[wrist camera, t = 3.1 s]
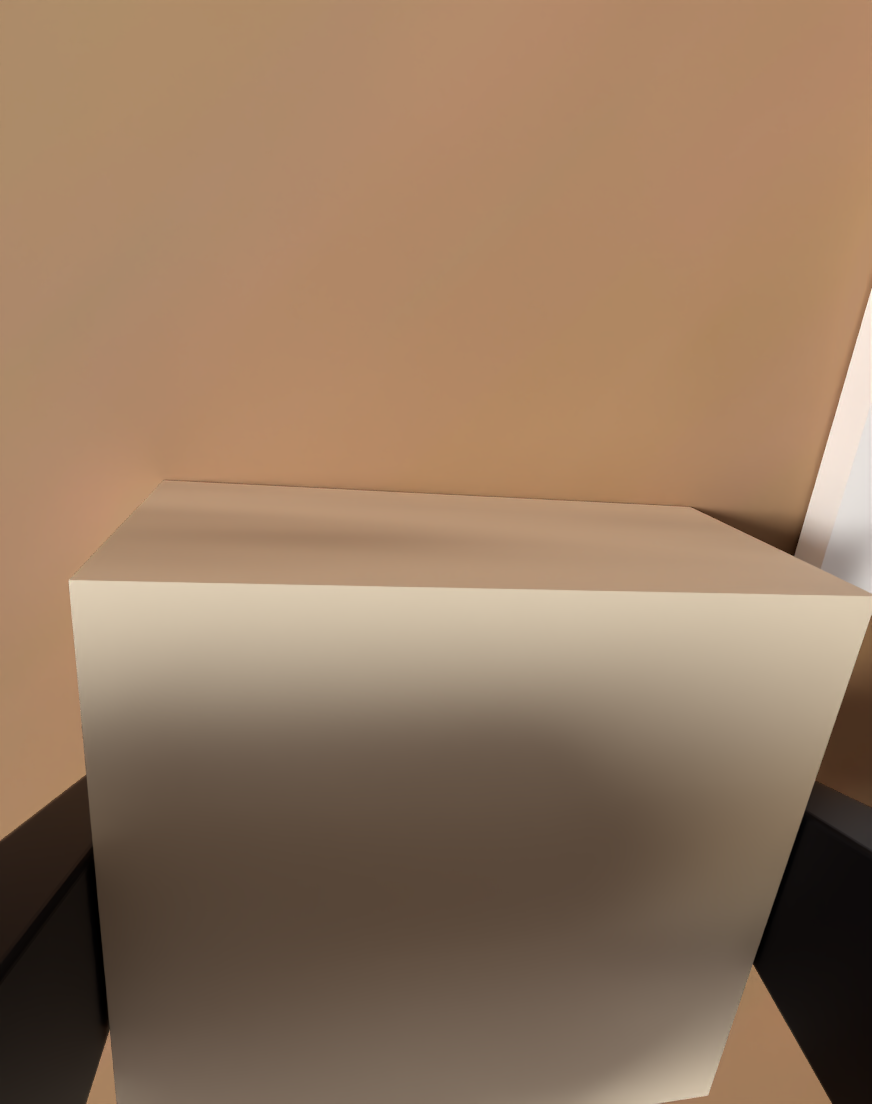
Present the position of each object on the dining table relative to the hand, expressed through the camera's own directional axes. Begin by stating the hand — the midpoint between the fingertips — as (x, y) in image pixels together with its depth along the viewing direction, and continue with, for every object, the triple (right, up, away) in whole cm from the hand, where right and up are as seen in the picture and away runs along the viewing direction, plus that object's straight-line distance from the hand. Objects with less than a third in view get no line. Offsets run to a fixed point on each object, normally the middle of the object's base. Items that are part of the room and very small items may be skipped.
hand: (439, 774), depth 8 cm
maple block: (0, 0, +1) cm, 1 cm away
